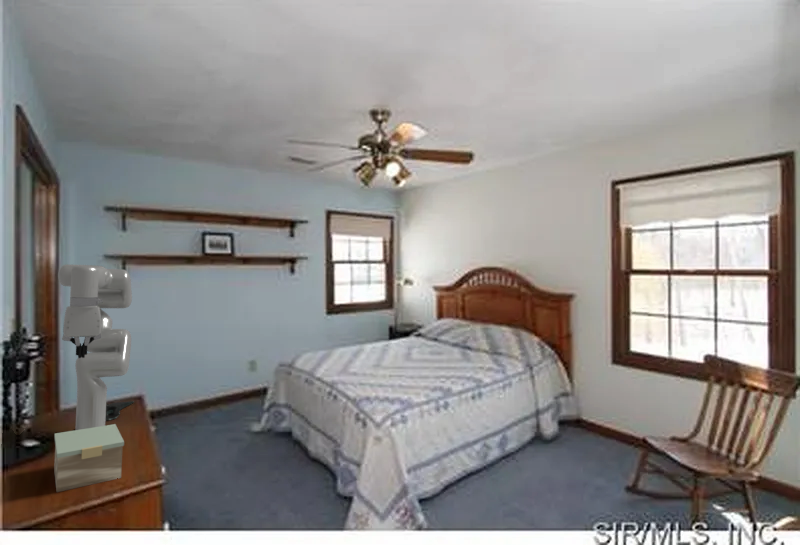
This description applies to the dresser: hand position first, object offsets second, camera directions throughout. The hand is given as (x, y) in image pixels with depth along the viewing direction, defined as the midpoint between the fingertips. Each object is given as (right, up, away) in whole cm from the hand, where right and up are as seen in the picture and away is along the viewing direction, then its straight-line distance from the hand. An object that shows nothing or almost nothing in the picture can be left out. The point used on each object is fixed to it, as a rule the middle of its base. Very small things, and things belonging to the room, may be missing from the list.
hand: (81, 357), depth 148 cm
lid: (+8, -27, -8) cm, 29 cm away
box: (+8, -36, -8) cm, 37 cm away
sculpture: (-21, -35, +50) cm, 64 cm away
